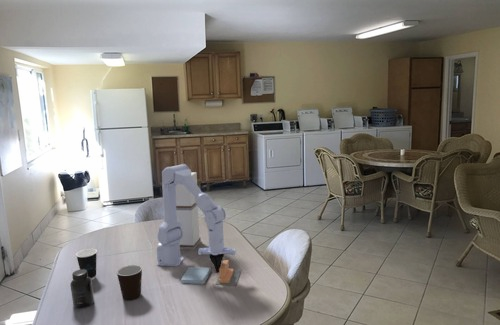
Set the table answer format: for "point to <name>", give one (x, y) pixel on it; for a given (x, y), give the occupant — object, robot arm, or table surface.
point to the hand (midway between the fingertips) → (218, 271)
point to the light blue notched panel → (196, 275)
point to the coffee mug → (130, 281)
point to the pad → (233, 279)
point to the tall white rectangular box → (187, 216)
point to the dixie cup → (87, 261)
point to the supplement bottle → (81, 289)
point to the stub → (225, 272)
